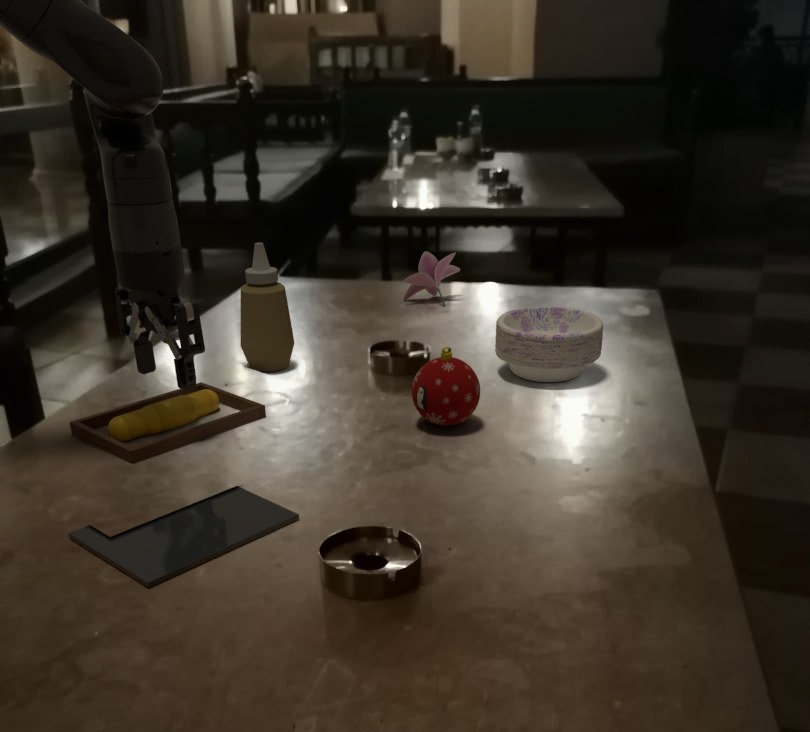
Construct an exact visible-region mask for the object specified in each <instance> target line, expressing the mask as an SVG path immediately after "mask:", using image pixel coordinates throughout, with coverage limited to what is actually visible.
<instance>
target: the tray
mask: <svg viewBox="0 0 810 732" xmlns="http://www.w3.org/2000/svg"><path fill="white" fill-rule="evenodd" d="M204 389H209V390H212V391H214V392H215V393H216V394H217V395H218V397H219V404H221V405H224V406H226V407H229V408H232V409H234V410H236V411H237V412H235V413H232V414H228V415H225V416H222V417H219V418H216V419H213V420H210V421H207V422H204V423H201V424H199V425H196V426H192V427H189V428H186V429H183V430H180V431H178V432H173V433H172V434H171V433H170V434H169V435H166V436H163V437H159V438H157V439H154V440H151V441H148V442H145V443H142V444H139V445H136V446H134V447H133V446H131V445H128V444H127V443H124V442H120V441H118V440H116V439H114V438H112V437H111V436H110V435H107V434H106V433H103V432H101V431H99V429H102V428H104V427H108V425H109V422H110V421H111V420H112V419H113V418H114V417H117V416H120V415H123V414H126V413H129V412H133V411H136V410H139V409H142V408H143V407H145V406H148V405H151V404H154V403H158V402H161V401H164V400H167V399H171V398H174V397H177V396H180V395H188V394H191V393H194V392H197V391H201V390H204ZM266 418H267V414H266V405H265V404H262V403H259V402H258V401H254V400H251V399H249V398H246V397H244V396H240V395H237V394H236V393H233V392H230V391H226V390H224V389H221V388H218V387H215V386H212V385H211V384H207V383H205V382H202V381H201V382H196V385H195V386H194V387H192V388H188V389H185V390H183V389H180V388H177V389H173V390H171V391H168V392H164V393H161V394H158V395H154V396H150V397H147V398H144V399H141V400H138V401H134V402H131V403H127V404H124V405H121V406H118V407H115V408H111V409H108V410H105V411H101V412H98V413H94V414H92V415H91V414H90V415H87V416H85V417H81V418H78V419H74V420H72V421H69V427H70V433H71V435H72V436H75V437H77V438H78V439H80V440H82V441H85V442H86V443H89V444H91V445H93V446H95V447H97V448H99V449H100V450H103V451H105V452H107V453H109V454H111V455H113V456H115V457H116V458H119V459H121V460H123V461H125V462H127V463H129V464H131V465H134V464H138V463H140V462H143V461H146V460H148V459H151V458H154V457H157V456H160V455H163V454H166V453H168V452H171V451H174V450H178V449H181V448H183V447H185V446H189V445H191V444H194V443H197V442H200V441H203V440H206V439H208V438H212V437H214V436H217V435H220V434H223V433H225V432H228V431H231V430H235V429H236V428H239V427H243V426H245V425H249V424H251V423H254V422H256V421H259V420H262V419H266Z"/></svg>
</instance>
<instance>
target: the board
mask: <svg viewBox="0 0 810 732" xmlns="http://www.w3.org/2000/svg"><path fill="white" fill-rule="evenodd" d="M298 520H300V514H299V513H297V512H295V511H292V510H291V509H288V508H287V507H284V506H282V505H280V504H278V503H275V502H273V501H271V500H269V499H266V498H264V497H262V496H261V495H258V494H256V493H253V492H252V491H249V490H247V489H245V488H243V487H241V486H238V485H236V486H233V487H230V488H228V489H225V490H223V491H220V492H218V493H215V494H213V495H211V496H208V497H205V498H202V499H200V500H198V501H196V502H193V503H190V504H188V505H185V506H183V507H181V508H178V509H176V510H174V511H171V512H168V513H166V514H163V515H161V516H159V517H156V518H154V519H151V520H149V521H146V522H143V523H141V524H137V525H136V526H133V527H131V528H128V529H126V530H124V531H121V532H119V533H116V534H113V535H112V536H110V535H108V534H106V533H105V532H103V531H101V530H99V529H98V528H96V527H95V526H93V525H91V524H88V525H87V526H84V527H81V528H79V529H75V530H73V531H71V532H69V533H68V538H69V539H70V540H72V541H73V542H75V543H76V544H77V545H79V546H81V547H83V548H84V549H86V550H87V551H89V552H90V553H92V554H94V555H95V556H96V557H98V558H99V559H101V560H103V561H105V562H107V564H109V565H111V566H113V567H114V568H116V569H118V570H119V571H121V572H122V573H124V574H125V575H127V576H129V577H130V578H132V579H133V580H135V581H137V582H138V583H140V584H141V585H142V586H145V587H146V588H148V589H149V588H153V587H154V586H156V585H158V584H160V583H163V582H165V581H167V580H170V579H172V578H174V577H176V576H178V575H180V574H182V573H185V572H187V571H189V570H191V569H193V568H196V567H198V566H200V565H202V564H205V563H207V562H208V561H211V560H213V559H215V558H217V557H220V556H222V555H224V554H226V553H229V552H231V551H233V550H235V549H237V548H239V547H242V546H244V545H246V544H248V543H250V542H252V541H254V540H256V539H259V538H261V537H263V536H265V535H268V534H270V533H271V532H272V533H273V532H274V531H277V530H278V529H281V528H283V527H286V526H287V525H290V524H292V523H294V522H296V521H298Z"/></svg>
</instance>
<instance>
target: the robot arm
mask: <svg viewBox="0 0 810 732" xmlns="http://www.w3.org/2000/svg"><path fill="white" fill-rule="evenodd" d="M0 27H1V28H2V29H4V30H5V31H6V32H7V33H8V34H10V35H11V36H12V37H13V38H14V39H16V40H17V41H18V42H19V43H21V45H23V46H25V47H26V48H27V49H28V50H30V51H32V52H33V53H34V54H36V55H38V56H39V57H41V58H43V59H45V60H47V61H50V62H52V63H53V64H55V66H58V67H59V68H60V69H61V70H62V71H64V73H66V74H67V75H68V76H69V77H71V78H72V79H73V80H74V81H75V82H77V83H78V84H79V85H80V86H81V87H83V94H84V98H85V104H86V108H87V111H88V115H89V120H90V123H91V126H92V130H93V133H94V137H95V140H96V144H97V146H98V150H99V154H100V160H101V161H100V162H101V171H102V176H103V177H102V178H103V183H104V184H103V185H104V189H105V197H106V201H107V212H108V214H107V215H108V229H109V233H110V240H111V247H112V251H113V258H114V263H115V269H116V276H117V281H118V285H119V286H118V287H115V288H114V290H113V291H114V299H115V305H116V313H117V321H118V327H119V333H120V335H121V336H122V337H127V338H128V341H129V343H130V344H131V345H133V350H134V357H135V362H136V367H137V369H136V370H137V372H138V373H139V374H141V375H146V374H151V373H154V372H156V370H157V365H156V358H155V352H154V345H153V341H150V340H152V337H153V334H154V333H155V334H156V335H158V336H159V339H160V340H161V341H162V343H163V344H166V345H167V346H168V347H169V350H170V352H171V353H172V356H173V357H174V358H173V364H174V370H175V377H176V383H177V388H178V389H183V390H185V389H188V388H192V387H194V386H195V385H196V384H197V374H196V373H197V372H196V366H195V365H196V364H195V356H197V355H200V354H203V353H205V352H206V345H205V341H204V332H203V327H202V320H201V316H200V308H199V305H198V303H197V301H195V300H192V301H185V302H184V301H182V300H181V297H180V294H179V288H180V286H181V285H183V284H184V283H185V281H186V274H185V273H186V272H185V265H184V258H183V249H182V242H181V236H180V235H181V234H180V227H179V222H178V217H177V213H176V212H177V211H176V209H175V205H174V200H173V192H172V185H171V179H170V171H169V164H168V159H167V157H166V156H167V155H166V153H165V151H164V149H163V148H162V146H161V144H160V142H159V141H158V139H157V138H158V137H157V133H156V128H155V122H154V117H153V111H155V110H156V109H157V108H158V106H159V105H160V103H161V101H162V98H163V94H164V79H163V75H162V71H161V69H160V67H159V64H158V63H157V62H156V60H155V58H154V57H153V56H152V55H151V54H150V52H148V51H147V49H145V47H143V46H142V44H140V43H139V42H138V41H136V40H135V38H133V37H132V36H130V35H129V34H128V33H127V32H125V31H124V30H123V29H121V28H120V27H119V26H117V25H116V24H114V23H113V22H111V21H110V20H109V19H108V18H106V17H105V16H103V15H102V14H101V13H99V12H97V11H96V10H95V9H93V8H92V7H90V6H89V5H87V4H86V3H85V2H84V1H83V0H0ZM128 317H130V319H129V322H128ZM191 336H193V339H192V338H191ZM193 340H194V342H193ZM178 341H179V343H180V345H179V344H178Z"/></svg>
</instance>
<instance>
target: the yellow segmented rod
mask: <svg viewBox="0 0 810 732" xmlns="http://www.w3.org/2000/svg"><path fill="white" fill-rule="evenodd" d="M219 406H220V403H219V397H218V395H217V394H216V393H215V392H214V391H212V390H209V389H204V390H201V391H197V392H194V393H191V394H188V395H180V396H177V397H174V398H171V399H167V400H164V401H161V402H158V403H154V404H151V405H148V406H145V407H143V408H142V409H139V410H136V411H133V412H129V413H126V414H123V415H120V416H117V417H114V418H113V419H112V420H111V421H110V422H109V425H108V426H107V431H108V436H109V437H112V438H114V439H116V440H118V441H120V442H122V443H124V442H128V441H132V440H134V439H137V438H140V437H143V436H146V435H155V434H160V433H162V432H166V431H168V430H171V429H175V428H177V427H180V426H185V425H187V424H189V423H192V422H194V421H195V420H196V419H198V418H201V417H204V416H206V415H209V414H213V413H215V412H216V411H217V410H218V409H219Z"/></svg>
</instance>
